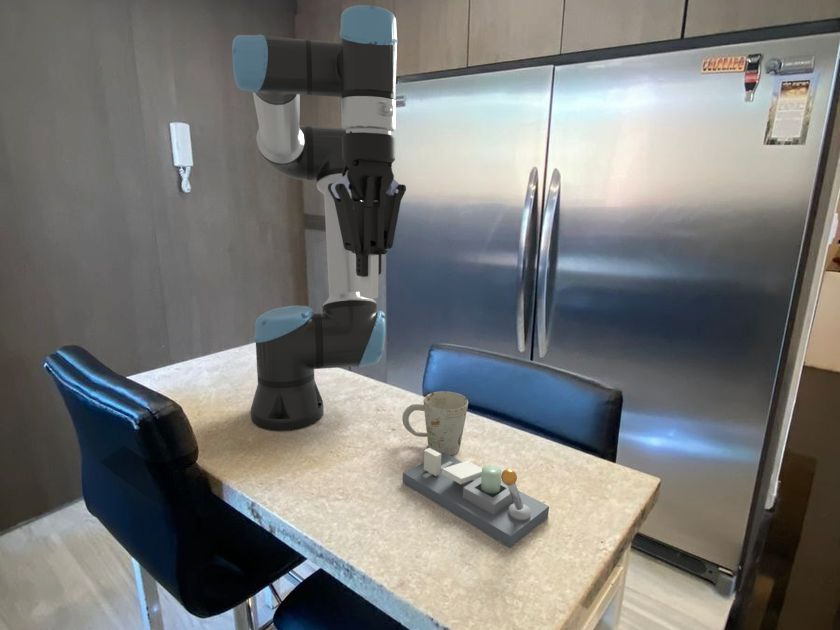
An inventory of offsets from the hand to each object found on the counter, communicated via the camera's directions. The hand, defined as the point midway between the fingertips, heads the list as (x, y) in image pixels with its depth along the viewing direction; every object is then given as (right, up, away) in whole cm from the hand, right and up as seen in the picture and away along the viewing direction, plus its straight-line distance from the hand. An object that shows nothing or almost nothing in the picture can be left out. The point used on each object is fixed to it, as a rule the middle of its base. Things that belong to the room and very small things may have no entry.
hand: (368, 296), depth 79 cm
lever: (+23, -31, -2) cm, 39 cm away
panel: (+16, -33, +5) cm, 37 cm away
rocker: (+15, -29, +5) cm, 33 cm away
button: (+19, -30, +2) cm, 35 cm away
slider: (+10, -29, +8) cm, 32 cm away
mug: (+10, -28, +21) cm, 37 cm away
